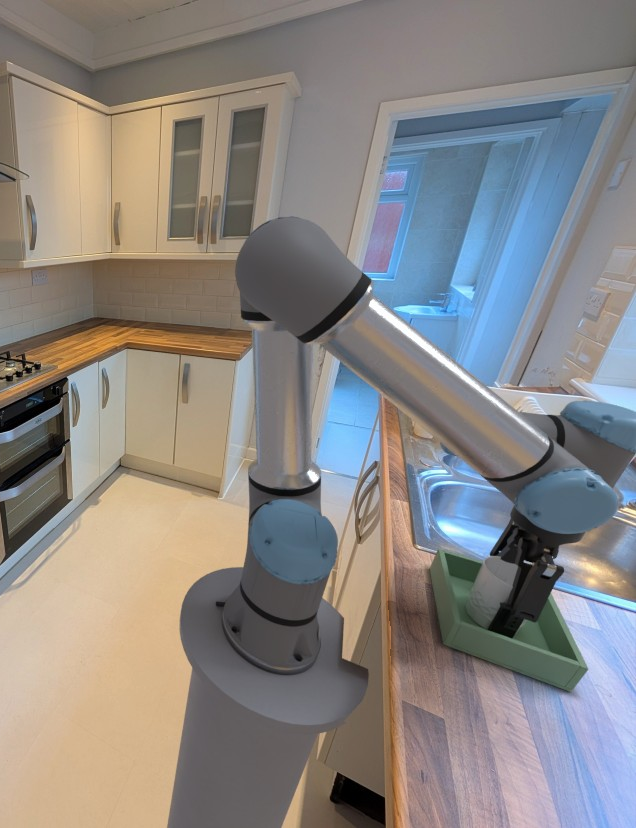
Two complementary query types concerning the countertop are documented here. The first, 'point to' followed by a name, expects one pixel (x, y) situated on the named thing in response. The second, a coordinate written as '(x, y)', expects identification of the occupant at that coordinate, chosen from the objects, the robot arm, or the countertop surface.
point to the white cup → (491, 590)
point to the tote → (524, 653)
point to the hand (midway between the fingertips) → (491, 617)
